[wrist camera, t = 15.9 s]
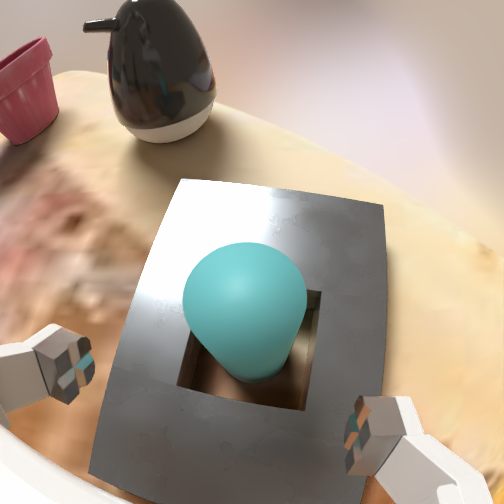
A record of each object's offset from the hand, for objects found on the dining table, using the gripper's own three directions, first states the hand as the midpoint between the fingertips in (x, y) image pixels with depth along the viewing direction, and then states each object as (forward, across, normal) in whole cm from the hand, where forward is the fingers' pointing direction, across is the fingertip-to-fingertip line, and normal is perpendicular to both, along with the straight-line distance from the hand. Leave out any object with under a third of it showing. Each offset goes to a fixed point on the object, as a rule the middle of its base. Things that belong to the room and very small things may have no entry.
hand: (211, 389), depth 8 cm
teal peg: (+9, 0, +4) cm, 10 cm away
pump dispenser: (+23, +12, -10) cm, 28 cm away
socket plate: (+9, 0, +4) cm, 10 cm away
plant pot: (+26, +38, -12) cm, 47 cm away
